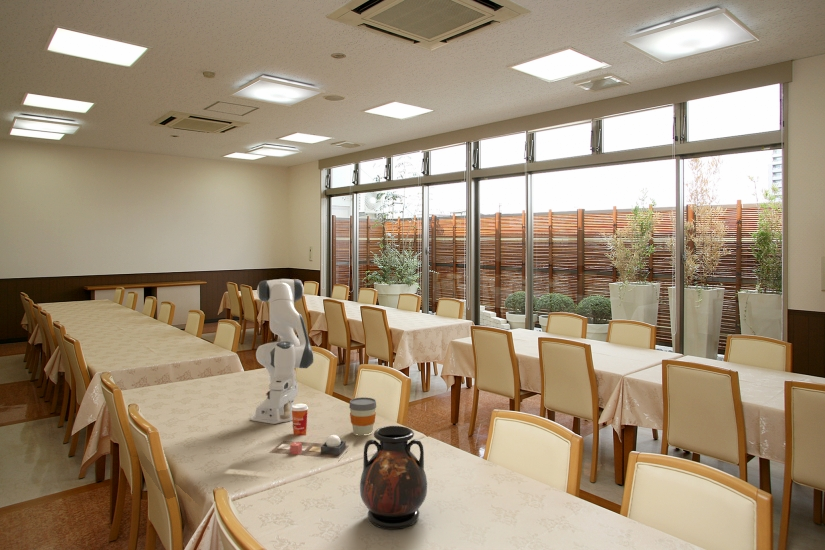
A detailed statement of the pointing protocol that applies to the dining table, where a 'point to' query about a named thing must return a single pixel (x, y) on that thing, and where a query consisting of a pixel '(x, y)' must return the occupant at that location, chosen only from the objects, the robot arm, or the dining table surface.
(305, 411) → the paper cup
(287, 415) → the pawn
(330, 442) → the dome button
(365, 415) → the reusable coffee cup
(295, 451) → the die
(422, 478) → the amphora vase
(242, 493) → the dining table surface
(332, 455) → the game board
